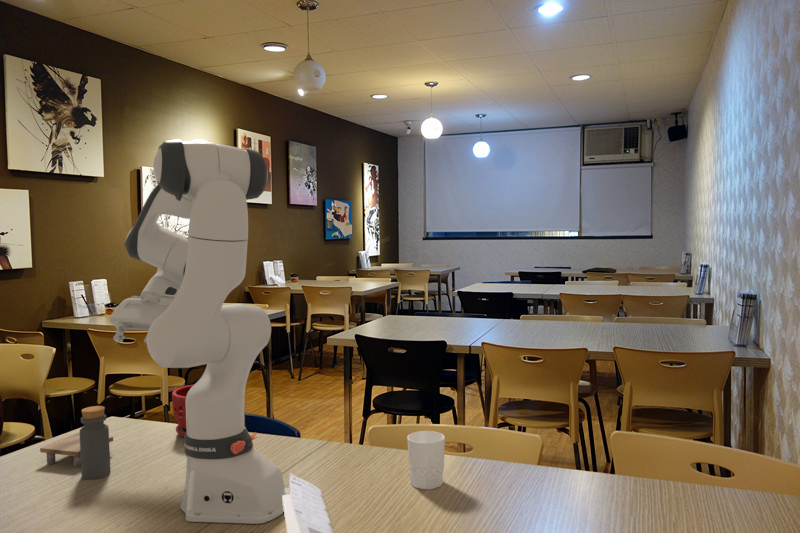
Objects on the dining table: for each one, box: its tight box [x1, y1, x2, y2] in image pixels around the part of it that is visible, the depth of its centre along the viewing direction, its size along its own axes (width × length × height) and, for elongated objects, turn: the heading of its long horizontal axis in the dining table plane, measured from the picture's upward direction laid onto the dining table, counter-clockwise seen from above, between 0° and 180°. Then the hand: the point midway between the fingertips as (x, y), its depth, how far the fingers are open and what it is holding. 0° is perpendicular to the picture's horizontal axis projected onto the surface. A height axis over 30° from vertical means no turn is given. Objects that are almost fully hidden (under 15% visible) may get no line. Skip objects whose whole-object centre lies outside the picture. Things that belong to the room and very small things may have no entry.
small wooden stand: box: [39, 432, 114, 469], centre depth 148 cm, size 11×11×4 cm
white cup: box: [406, 430, 446, 490], centre depth 129 cm, size 8×8×10 cm
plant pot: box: [171, 384, 194, 438], centre depth 166 cm, size 13×13×12 cm
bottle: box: [79, 405, 111, 480], centre depth 137 cm, size 6×6×15 cm
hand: (132, 342), depth 148 cm, fingers open, 8 cm apart
